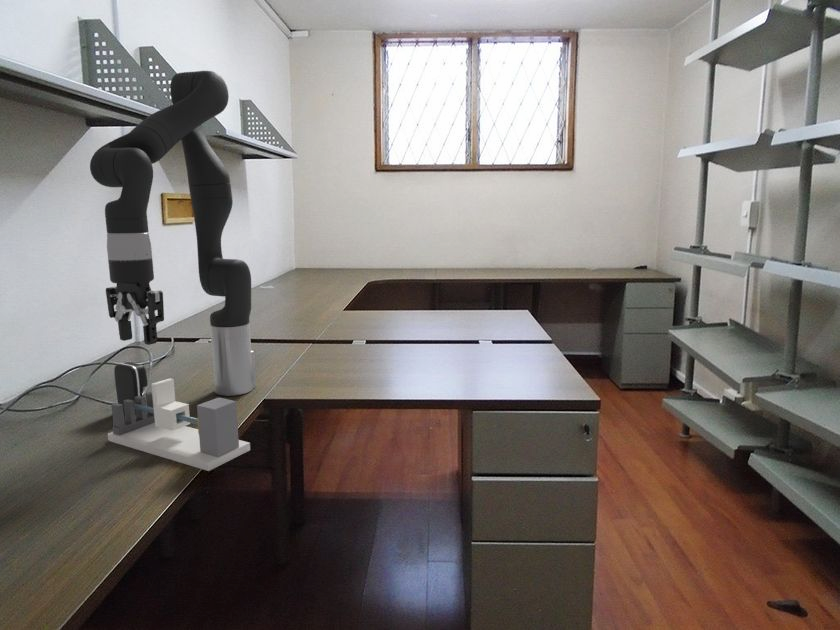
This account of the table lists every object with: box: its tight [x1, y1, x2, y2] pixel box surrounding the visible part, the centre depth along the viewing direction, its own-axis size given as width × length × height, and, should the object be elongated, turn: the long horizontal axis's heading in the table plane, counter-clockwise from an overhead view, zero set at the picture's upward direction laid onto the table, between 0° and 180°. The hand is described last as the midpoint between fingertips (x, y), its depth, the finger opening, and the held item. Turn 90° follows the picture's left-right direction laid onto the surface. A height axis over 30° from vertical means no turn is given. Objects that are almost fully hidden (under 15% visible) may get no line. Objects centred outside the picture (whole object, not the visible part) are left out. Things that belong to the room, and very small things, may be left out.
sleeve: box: [151, 378, 191, 431], centre depth 109 cm, size 4×5×8 cm
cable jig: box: [107, 391, 251, 472], centre depth 109 cm, size 10×28×10 cm, turn 62°
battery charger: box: [113, 361, 148, 414], centre depth 127 cm, size 7×4×11 cm, turn 63°
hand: (138, 341), depth 111 cm, fingers open, 7 cm apart
